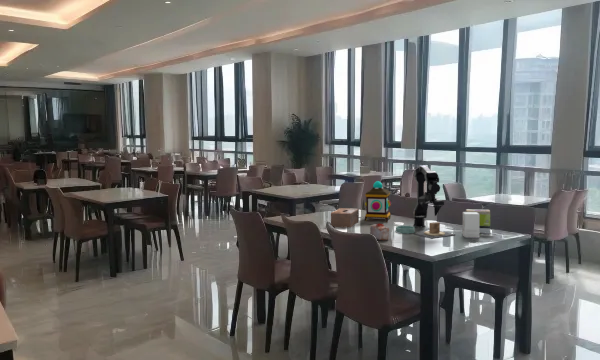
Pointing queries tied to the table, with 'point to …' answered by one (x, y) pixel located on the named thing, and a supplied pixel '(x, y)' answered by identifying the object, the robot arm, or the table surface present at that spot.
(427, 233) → the lid
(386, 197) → the decorative lantern
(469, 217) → the supplement box
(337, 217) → the tissue box cover
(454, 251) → the table surface
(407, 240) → the table surface
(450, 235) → the mat
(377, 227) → the food item
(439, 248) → the table surface
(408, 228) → the bowl
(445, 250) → the table surface
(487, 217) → the tea box
